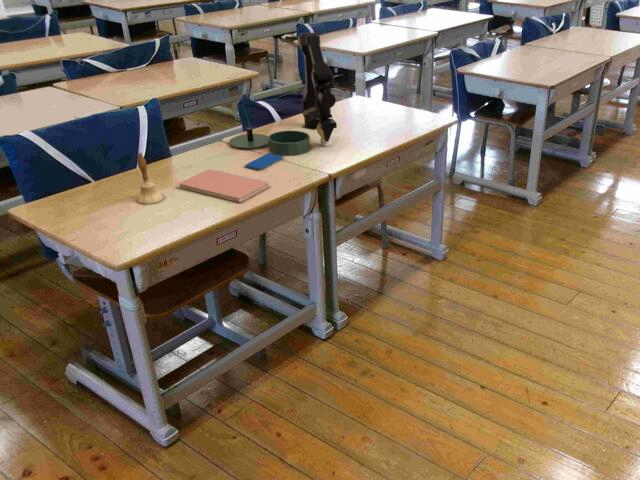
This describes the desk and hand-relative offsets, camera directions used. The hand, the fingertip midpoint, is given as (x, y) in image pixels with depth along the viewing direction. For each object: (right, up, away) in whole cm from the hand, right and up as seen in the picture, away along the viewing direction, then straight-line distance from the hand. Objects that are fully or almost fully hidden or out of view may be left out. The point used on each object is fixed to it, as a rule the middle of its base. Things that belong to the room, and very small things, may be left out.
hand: (325, 139), depth 260 cm
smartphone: (-21, -13, -17) cm, 30 cm away
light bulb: (0, -2, +1) cm, 3 cm away
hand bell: (-53, -32, -47) cm, 78 cm away
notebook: (-31, -26, -37) cm, 55 cm away
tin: (-14, -4, -3) cm, 15 cm away
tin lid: (-31, 0, +2) cm, 31 cm away
